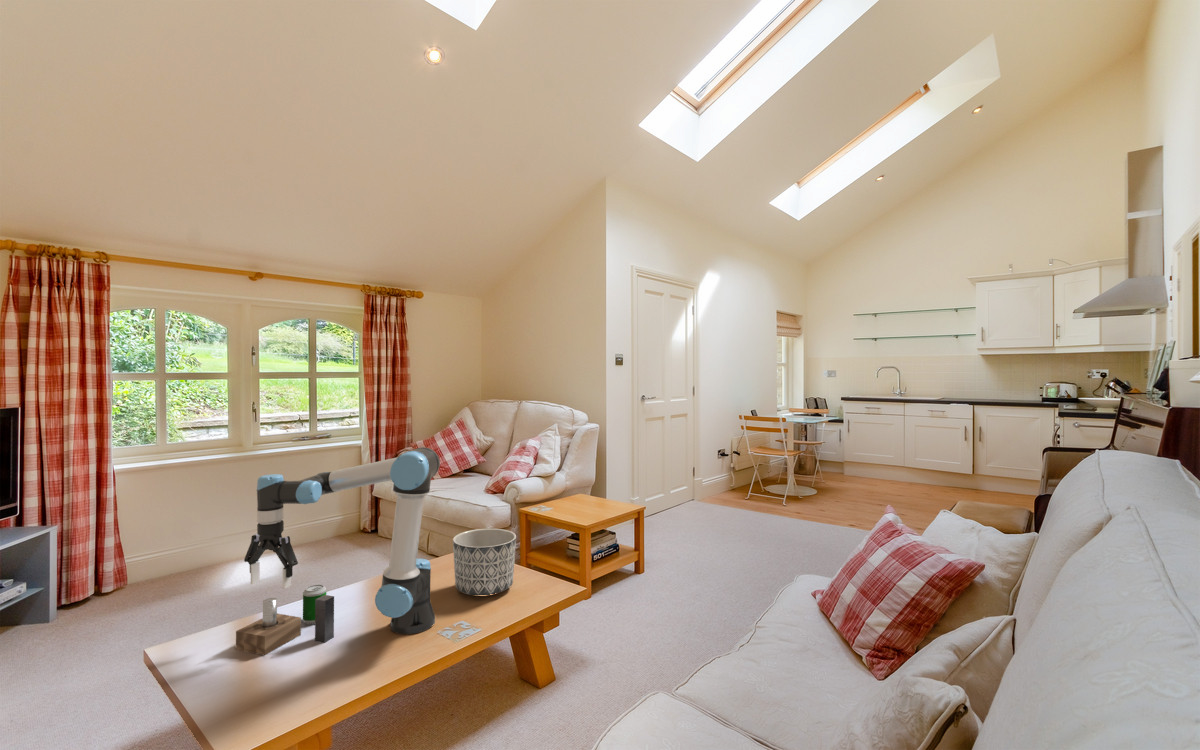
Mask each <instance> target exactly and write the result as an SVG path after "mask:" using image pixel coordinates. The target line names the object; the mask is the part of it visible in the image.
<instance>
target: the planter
mask: <svg viewBox="0 0 1200 750" xmlns="http://www.w3.org/2000/svg"><path fill="white" fill-rule="evenodd" d="M516 545H517V535H516V533H514V532H513V531H511V530H508V529H503V528H502V529H501V528H477V529H471V530H467V531H462V532H460V533H458V534H456V535H455V536H454V537H453V538H452V547H453V548H452V549H453V550H452V551H453V564H454V585H455V586H454V587H455V589H456V590H457V591H458V592H459V593H462V594H464V595H469V596H472V595H490V594H495V593H497V594H499V593H501V592H504V591H506V590H508V589H509V588H511V586H512V585H513V582H514V572H515V556H516ZM495 595H496V594H495Z"/></svg>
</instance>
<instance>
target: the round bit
mask: <svg viewBox="0 0 1200 750" xmlns="http://www.w3.org/2000/svg"><path fill="white" fill-rule="evenodd" d="M277 607H278V599H277V597H269V598H268V597H267V598H266V599H263V601H262V618H263V628H269V627H272V626H275V625H277V614H278V608H277Z"/></svg>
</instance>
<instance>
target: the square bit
mask: <svg viewBox="0 0 1200 750" xmlns="http://www.w3.org/2000/svg"><path fill="white" fill-rule="evenodd" d="M334 629H335V596H333V595H327V594H326V595H323V596H321V597H319V598H317V599H315V624H314V642H318V643H323V644H325V643H327V642H328V641H330V640H331V639H333V638H334V637H335V636H334V635H335V630H334Z"/></svg>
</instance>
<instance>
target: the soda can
mask: <svg viewBox="0 0 1200 750" xmlns="http://www.w3.org/2000/svg"><path fill="white" fill-rule="evenodd" d="M323 595H327V588H326V586H325V585H323V584H313V585H310V586H309V585H308V586H307V587H306V588H305V590H303V592H302V621H303V622H304V623H305V624H306V625H315V599H317V598H319V597H321V596H323Z"/></svg>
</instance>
